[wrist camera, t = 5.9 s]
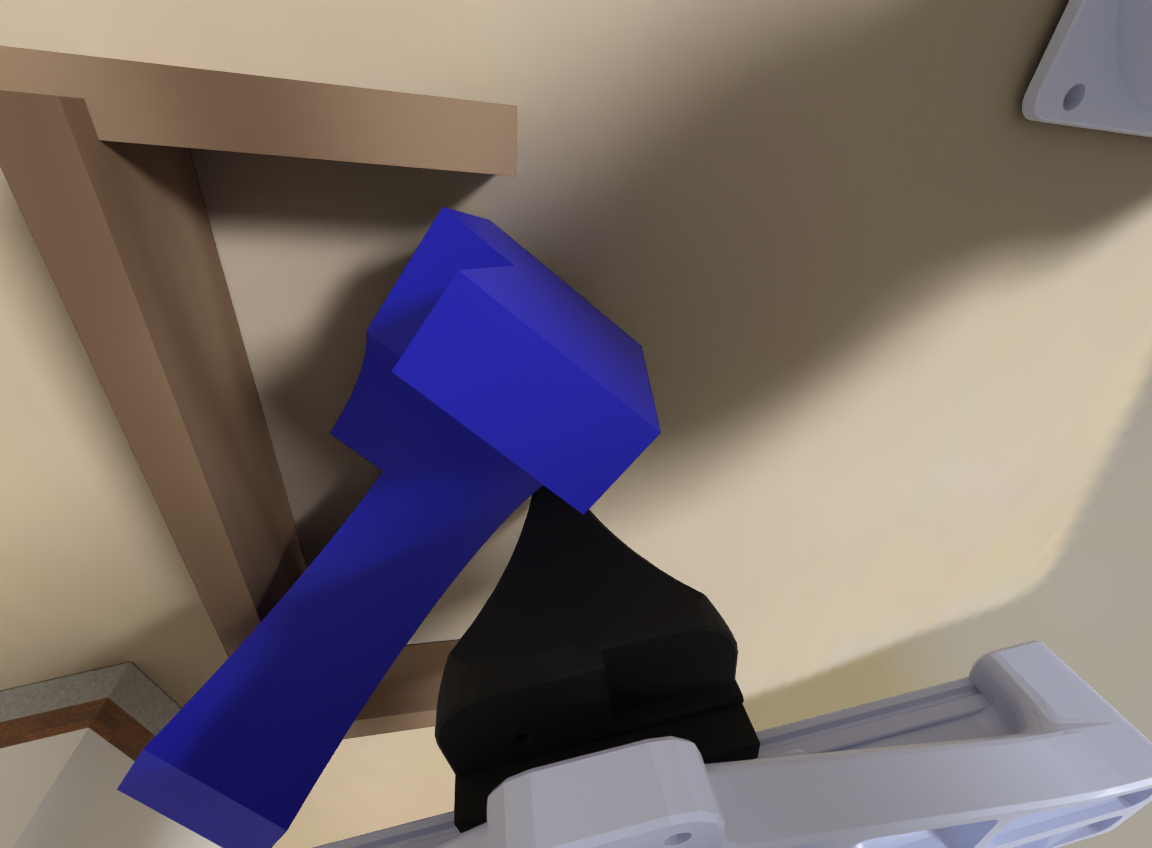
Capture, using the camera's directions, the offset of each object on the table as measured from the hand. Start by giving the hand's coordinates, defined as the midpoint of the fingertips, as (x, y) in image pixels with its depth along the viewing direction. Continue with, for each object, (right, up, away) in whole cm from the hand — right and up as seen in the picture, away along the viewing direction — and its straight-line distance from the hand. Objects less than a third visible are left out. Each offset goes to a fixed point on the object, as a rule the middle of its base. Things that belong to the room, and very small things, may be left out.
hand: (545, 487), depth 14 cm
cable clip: (-3, +1, -1) cm, 3 cm away
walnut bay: (-4, 0, 0) cm, 4 cm away
